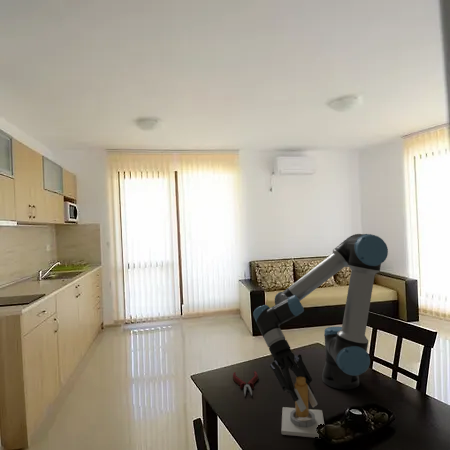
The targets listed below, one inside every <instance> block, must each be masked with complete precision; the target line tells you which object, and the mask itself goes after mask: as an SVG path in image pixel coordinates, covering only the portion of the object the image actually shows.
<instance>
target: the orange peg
mask: <svg viewBox="0 0 450 450" xmlns="http://www.w3.org/2000/svg"><path fill="white" fill-rule="evenodd" d="M293 386H294V389H296V388H297V390H298V392H299V394H300V396H301V398H302V400H303V402H304V404H305V406H306V409H305V410H304V411H303V412H301V411H300V409H299V407H298V405H297V403H296V401H294V405H295V407H294V408H295V409H296V415H297V416H299V417H307V416H308V415H309V409H310V408H309V400H308V385H307V383H306V379H305V378H304V377H301V376H299V377H297V376H296V378H295V382H294V383H293Z"/></svg>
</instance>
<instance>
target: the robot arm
mask: <svg viewBox="0 0 450 450" xmlns="http://www.w3.org/2000/svg"><path fill="white" fill-rule="evenodd" d="M388 255H389V250H388V246H387V243H386V242H385V240H384V239H383V238H381V237H380V236H379V235H375V234H371V233H362V234H361V233H357V234H356V233H355V234H353V235H350V236H348V237H347V238H346V239H344V240H343V242H340V244H339V245H337V246H336V247H335V248H333V249H332V253H331V254H330V255H328V256H327V257H326V258H324V259H323V260H322V261H320V263H318V264H317V265H316V266H314V267H313V268H311V270H309V271H308V272H306V273H305V274H304V275H303V276H302V277H300V278H299V279H298V280H296V281H295V282H294V283H292V284H291V285H290V286H289V287H288V288H285V289H284V290H283V291H280V292H278V293H276V295H275V296H274V305H273V306H271V307H270V306H269V305H267V304H263V305H260V306H257V307H256V308H255V309H254V311H253V313H252V315H253V319H254V320H255V323H256V325H257V327H258V329H259V331H260V333H261V336H262V337H263V341H265V343H266V346H267V347H268V350H269V352H270V355H271V357H272V358H273V361H272V362H271V363H270V364H269V367H270V369H271V370H272V371H273V373H274V375H275V377H276V379H277V381H278V383H279V384H280V387H281V389H282V391H283V393H286V392H287V394H290V396H291V398H292V400H293V401H294V402H295V401H296V403H297V405H298V407H299V409H300V411H301V412H303V411H304V410H305V409H306V406H305V404H304V402H303V400H302V398H301V396H300V394H299V392H298V390H297V388H296V389H295V385H294V383H293V380H292V375H291V373H290V371H292V372H293V374H294V375H295V376H296V377H299V376H301V377H304V378H305V379H306V383H307V385H308V403H309V404H310V405H311V408H315V407H317V405H318V401H317V400H316V398H315V396H314V394H315V393H314V391H313V388H312V387H311V384H310V383H311V382H313V378H312V376H311V374H310V373H309V371H308V368H307V367H306V365H305V363H304V360H303V356H302V354H300V353H299V354H294V352H292V348H291V346H290V344H289V342H288V340H287V339H286V336H285V335H284V333H283V331H282V329H281V327H280V326H281V325H283V324H284V323H287V322H288V321H290V320H292V319H294V318H296V317H298V316H300V315H301V314H302V313H304V311H305V309H304V306H303V304H302V303H301V301H302V300H303V299H305V298H306V297H307V296H309V295H310V294H311V293H312V292H313V291H315V290H317V289H318V288H319V287H320V286H322V285H323V284H324V283H326V282H327V281H329V280H330V279H331V278H332V277H333V276H335V275H336V274H337V273H338V272H341V270H343V269H344V268H349V269H350V276H349V281H348V283H349V284H348V289H347V294H346V295H347V296H346V301H345V307H344V312H343V313H344V314H343V319H342V325H341V326H329V327H326V328H324V354H325V363H324V367H323V369H322V374H321V378H322V382H323V383H324V384H325V385H326V386H328V387H331V388H334V389H338V390H354V389H356V388H358V387H359V386H360V377H359V376H360V375H362V374H363V373H366V371H367V370H368V369H369V367H370V364H371V358H370V354H369V353H368V346H369V339H368V338H367V336H366V330H367V323H368V319H369V312H370V307H371V301H372V295H373V294H372V293H373V288H374V282H375V276H376V275H377V274H378V273H379V272H380V271H381V265H382V264H383V263H384V262H385V261H386V260H387V258H388ZM289 369H290V370H289Z"/></svg>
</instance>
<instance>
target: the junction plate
mask: <svg viewBox="0 0 450 450" xmlns="http://www.w3.org/2000/svg"><path fill="white" fill-rule="evenodd" d="M281 413H282V415H281V435H284V436H285V435H286V436H295V437H296V436H297V437H303V438H305V437H306V438H315V437H318V438H317V439H320V438H319V434H318V433H317V431H316V430H315V429H316V428H317V427H318V425H320V424H322V425H323V424H324V425H325V421H324V414H323V409H311V408H309V415H308V416H307V417H299V416H297V415H296V409H295V407H286V406H285V407H284V406H283V407H282V411H281Z"/></svg>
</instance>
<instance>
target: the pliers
mask: <svg viewBox="0 0 450 450" xmlns="http://www.w3.org/2000/svg"><path fill="white" fill-rule="evenodd" d="M253 371H254V370H253ZM253 375H254V376H252V378H250V379H249V381H248V382H247V383H246V381H243V379H241V378H239V377H238V376H237V375H236V372H235V371H234V372H233V373H232V380H233V381H234V383H236V384H237V385H238V386H239V388H240V389H241V390H243V395H244V397H246V396H247V395H246V394H247V391H248V393H249V395H250V396H251V397H253V390H252V389H254V388H255V384H256V383H257V382H258V380H259V376H258V372H257V371H254V372H253Z"/></svg>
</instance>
